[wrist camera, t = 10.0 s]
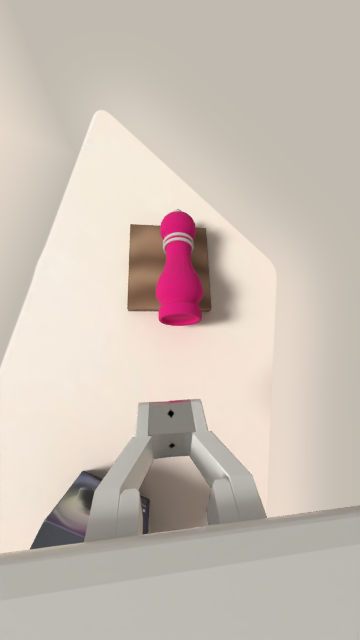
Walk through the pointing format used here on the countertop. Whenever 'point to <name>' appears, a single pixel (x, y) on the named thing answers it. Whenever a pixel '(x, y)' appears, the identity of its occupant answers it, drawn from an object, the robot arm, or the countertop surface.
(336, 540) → the robot arm
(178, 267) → the pepper mill
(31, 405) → the countertop surface
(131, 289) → the walnut board
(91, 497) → the small box
